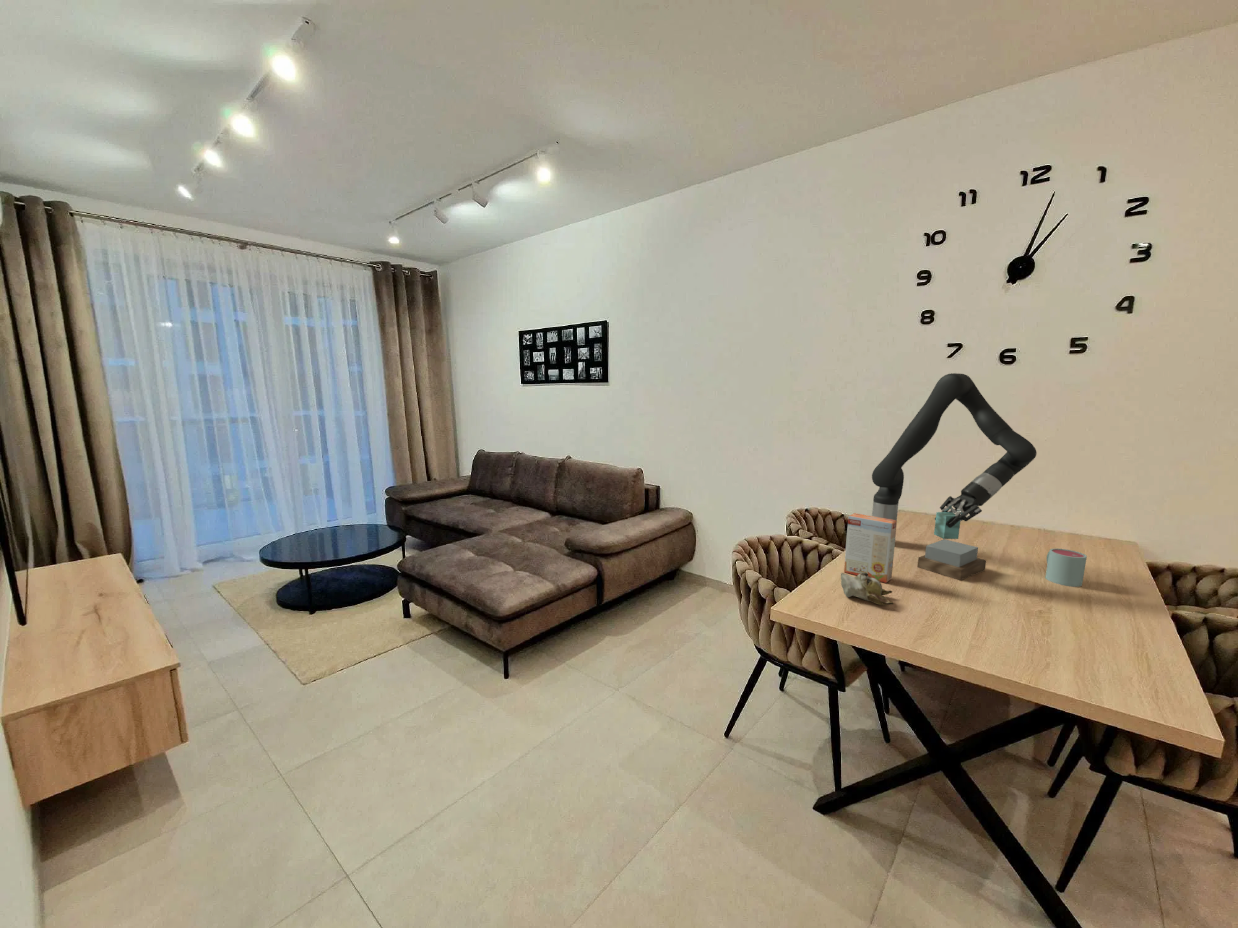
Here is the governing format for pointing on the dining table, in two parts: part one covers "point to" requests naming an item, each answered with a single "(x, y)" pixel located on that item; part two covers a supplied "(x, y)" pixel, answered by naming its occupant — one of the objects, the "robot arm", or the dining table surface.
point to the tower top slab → (951, 552)
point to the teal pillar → (943, 529)
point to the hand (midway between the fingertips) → (942, 523)
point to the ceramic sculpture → (864, 588)
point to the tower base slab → (952, 568)
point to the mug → (1065, 567)
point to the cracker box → (870, 546)
